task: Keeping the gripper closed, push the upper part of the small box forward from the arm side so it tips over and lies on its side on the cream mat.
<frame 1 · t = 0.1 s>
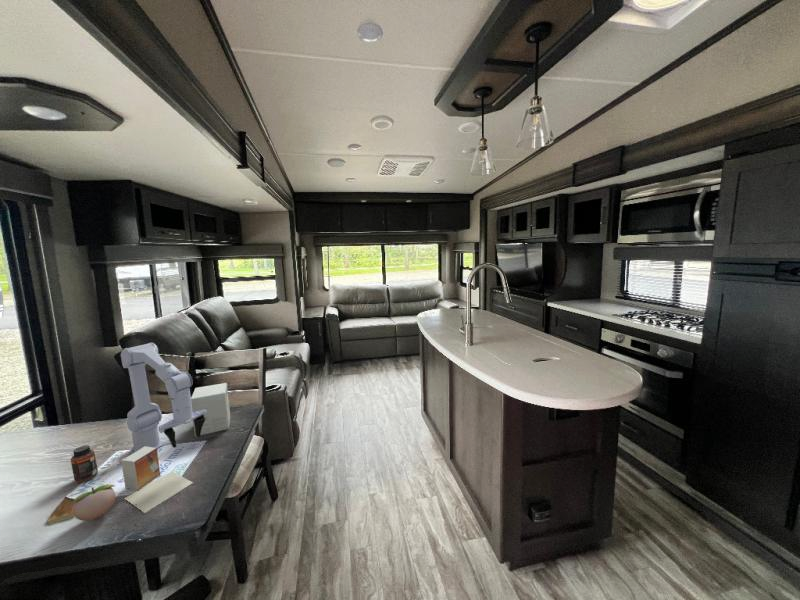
hand: (186, 441, 113), 10 cm above the table, tool pointing down, fingers open, 7 cm apart
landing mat: (159, 491, 103), on the table
small box: (143, 481, 107), on the table
decorative fruit: (98, 518, 92), on the table
supplement box: (213, 426, 142), on the table
supplement bottle: (86, 477, 110), on the table
tan flat wedge: (62, 514, 95), on the table
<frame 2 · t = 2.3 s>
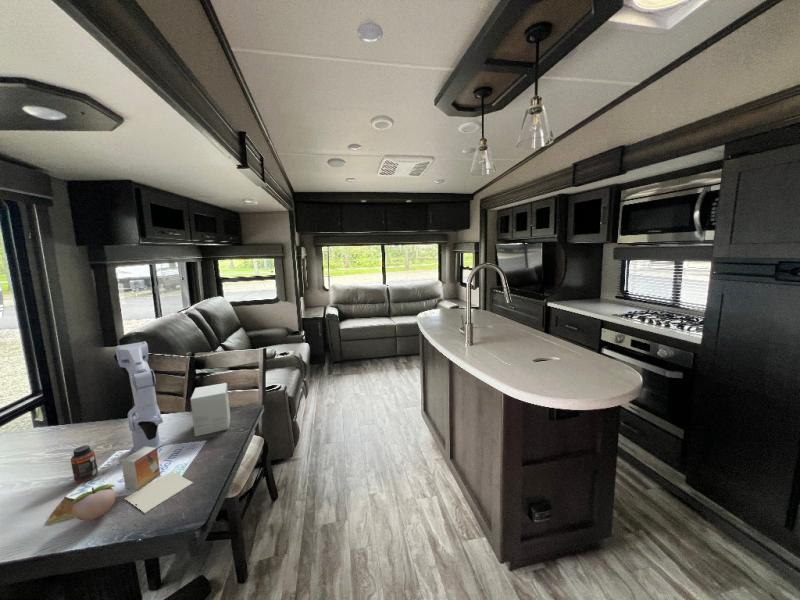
hand: (151, 438, 115), 10 cm above the table, tool pointing down, fingers closed
nothing on the table moved.
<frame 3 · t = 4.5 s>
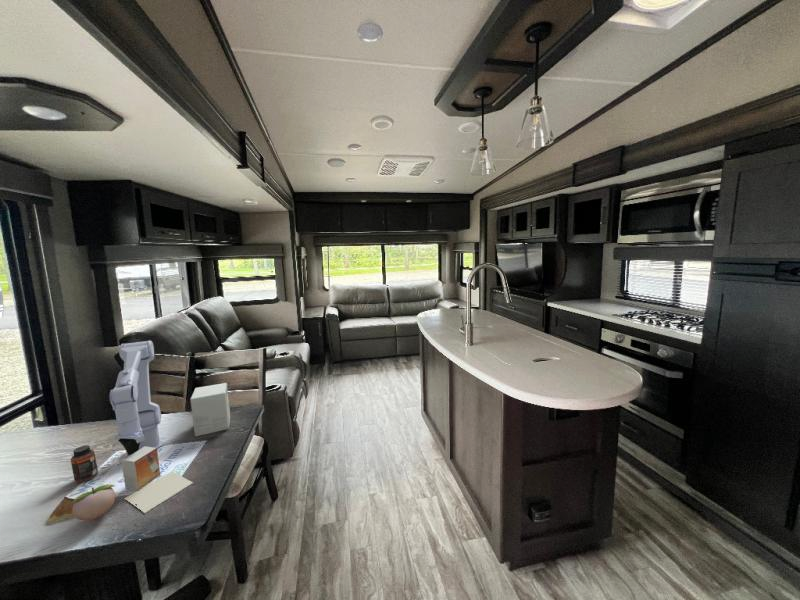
hand: (133, 455, 108), 8 cm above the table, tool pointing down, fingers closed
small box: (143, 481, 107), on the table, touching gripper
everything else where it was.
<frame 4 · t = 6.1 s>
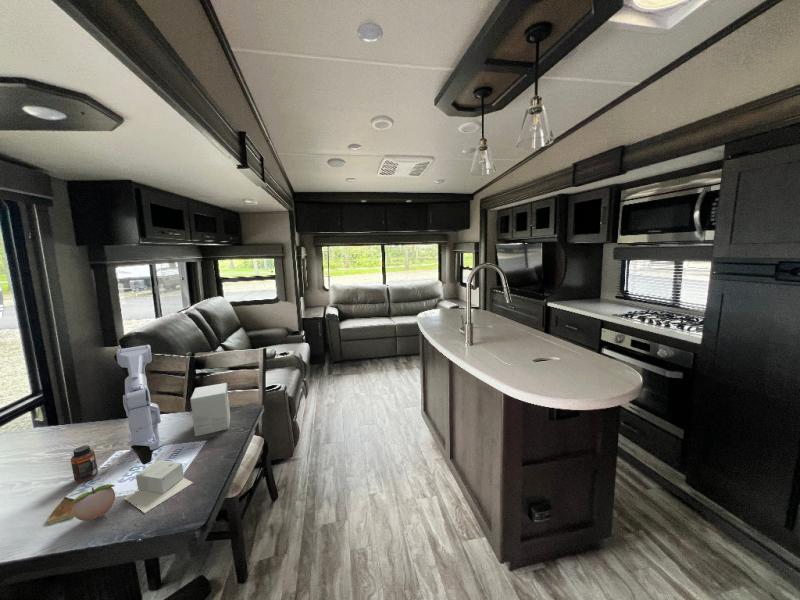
hand: (146, 462, 104), 8 cm above the table, tool pointing down, fingers closed
small box: (147, 474, 106), point 3 cm above the table, touching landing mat
everything else where it was.
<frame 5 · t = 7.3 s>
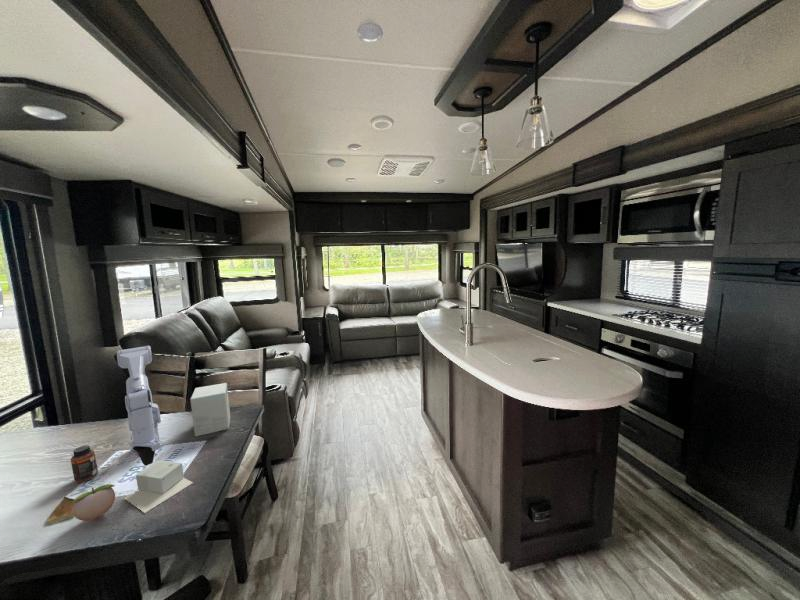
hand: (148, 463, 104), 8 cm above the table, tool pointing down, fingers closed
nothing on the table moved.
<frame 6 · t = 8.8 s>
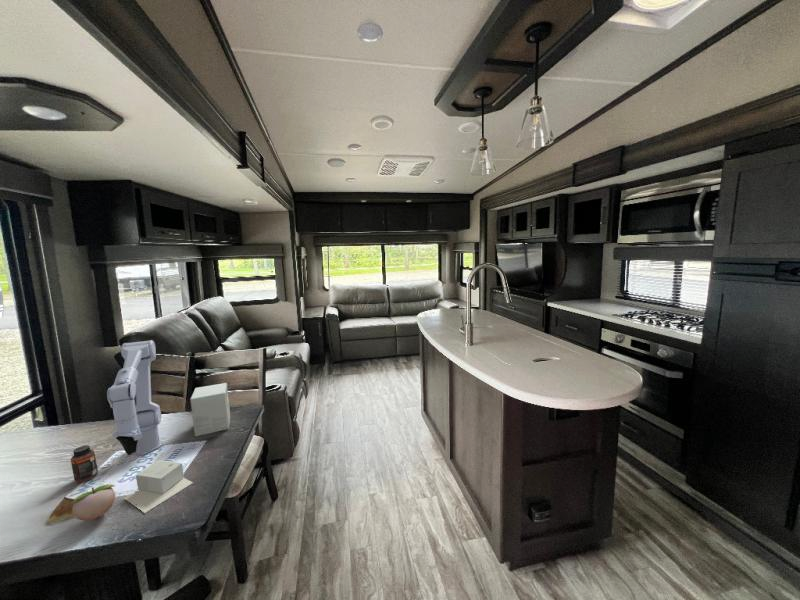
hand: (131, 453, 109), 9 cm above the table, tool pointing down, fingers closed
nothing on the table moved.
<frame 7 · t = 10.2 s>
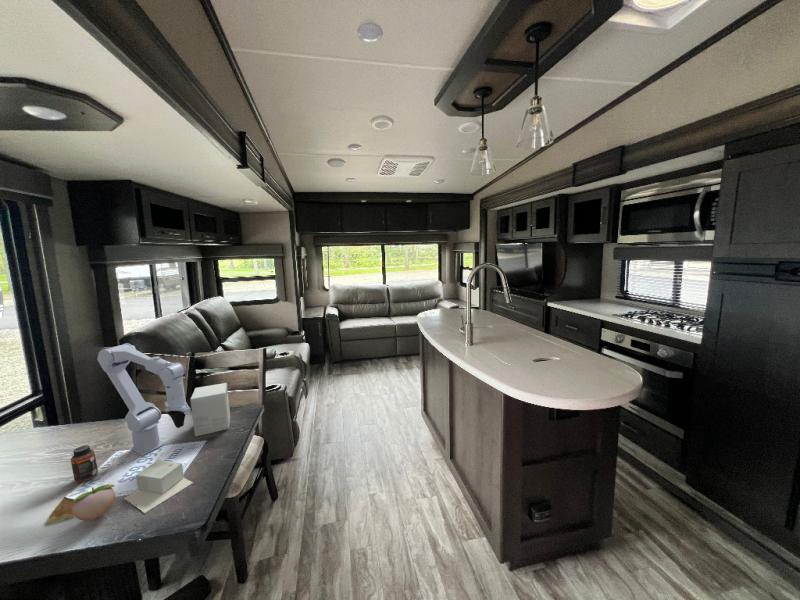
hand: (179, 426, 123), 10 cm above the table, tool pointing down, fingers closed
nothing on the table moved.
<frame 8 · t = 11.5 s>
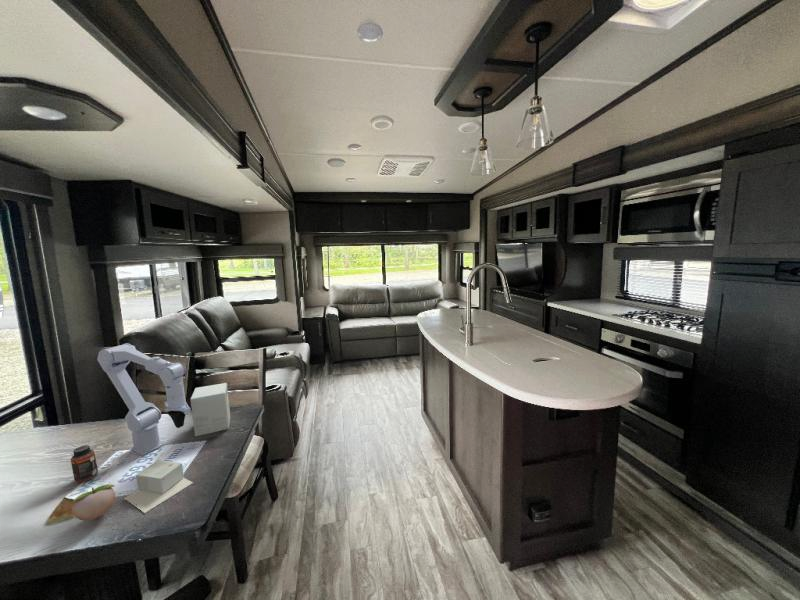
hand: (179, 426, 123), 10 cm above the table, tool pointing down, fingers closed
nothing on the table moved.
at the end: small box tilted 90°; small box inside the target area (6.7 cm from its centre), point 3.1 cm above the table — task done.
